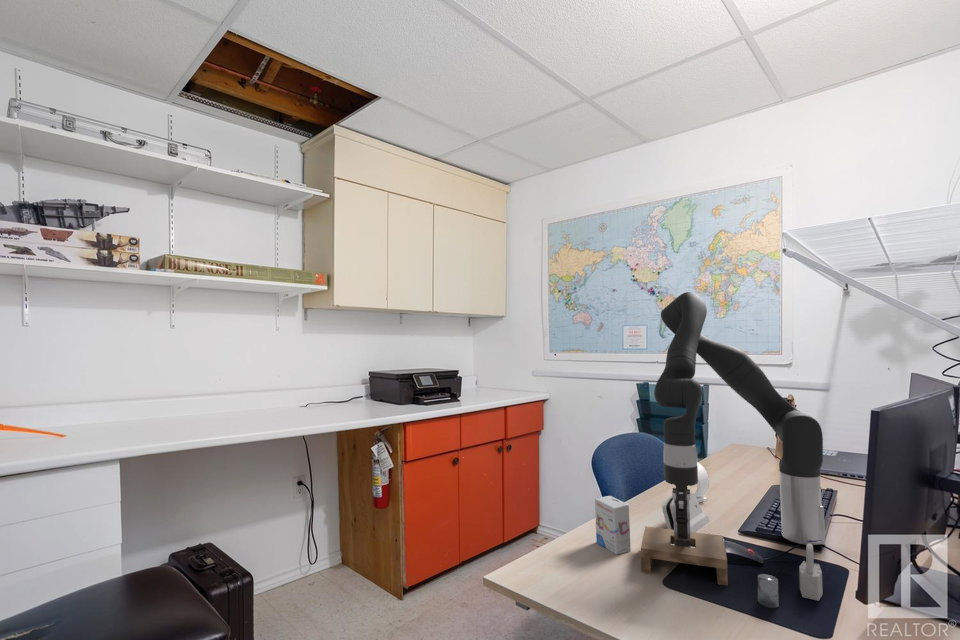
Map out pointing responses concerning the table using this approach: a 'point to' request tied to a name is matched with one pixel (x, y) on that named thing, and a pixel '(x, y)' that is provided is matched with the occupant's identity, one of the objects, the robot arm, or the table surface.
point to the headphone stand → (702, 484)
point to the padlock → (810, 576)
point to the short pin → (768, 590)
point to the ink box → (612, 524)
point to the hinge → (696, 513)
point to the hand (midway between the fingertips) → (682, 534)
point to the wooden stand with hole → (684, 551)
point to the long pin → (687, 541)
